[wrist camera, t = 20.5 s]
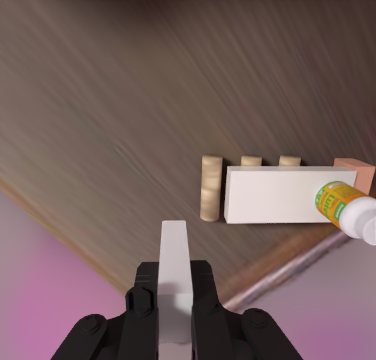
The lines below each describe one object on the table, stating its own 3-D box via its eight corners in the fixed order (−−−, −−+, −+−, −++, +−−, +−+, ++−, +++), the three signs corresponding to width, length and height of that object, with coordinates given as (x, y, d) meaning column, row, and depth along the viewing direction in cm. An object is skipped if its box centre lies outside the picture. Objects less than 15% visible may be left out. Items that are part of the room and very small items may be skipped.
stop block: (324, 209, 45) (342, 223, 40) (335, 158, 42) (355, 166, 38) (341, 209, 45) (361, 222, 41) (352, 158, 42) (375, 166, 38)
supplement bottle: (312, 182, 37) (358, 212, 28) (350, 176, 37) (408, 204, 28) (312, 216, 39) (355, 254, 30) (347, 210, 39) (402, 247, 30)
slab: (224, 215, 41) (227, 223, 39) (227, 166, 38) (231, 171, 36) (335, 214, 42) (344, 222, 40) (345, 166, 40) (356, 171, 37)
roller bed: (199, 212, 44) (201, 221, 41) (201, 154, 41) (203, 159, 38) (286, 212, 45) (294, 220, 42) (295, 155, 42) (304, 159, 39)
